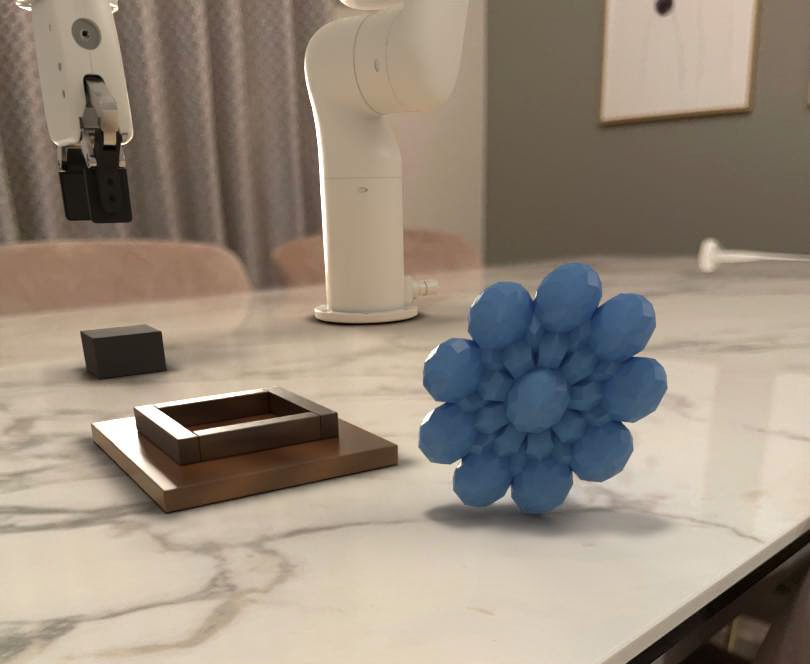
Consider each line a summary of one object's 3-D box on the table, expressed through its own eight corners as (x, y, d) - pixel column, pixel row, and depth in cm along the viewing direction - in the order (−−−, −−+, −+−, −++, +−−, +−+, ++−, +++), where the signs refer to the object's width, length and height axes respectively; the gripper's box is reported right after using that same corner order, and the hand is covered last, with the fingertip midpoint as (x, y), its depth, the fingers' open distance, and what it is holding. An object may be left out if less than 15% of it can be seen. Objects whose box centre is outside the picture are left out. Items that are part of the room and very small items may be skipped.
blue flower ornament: (643, 487, 45) (666, 253, 41) (660, 536, 39) (689, 267, 35) (428, 481, 47) (426, 255, 42) (412, 527, 41) (407, 268, 36)
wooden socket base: (286, 409, 63) (283, 372, 62) (398, 464, 50) (397, 419, 49) (93, 440, 56) (86, 400, 55) (166, 513, 43) (159, 463, 42)
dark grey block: (151, 361, 80) (145, 324, 79) (167, 370, 77) (161, 331, 75) (86, 369, 78) (79, 330, 76) (99, 379, 74) (92, 338, 72)
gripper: (144, -34, 60) (172, 222, 67) (89, 9, 74) (116, 218, 80) (32, -47, 57) (73, 225, 63) (-4, 1, 70) (33, 220, 77)
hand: (97, 221), depth 72 cm, fingers open, 9 cm apart
